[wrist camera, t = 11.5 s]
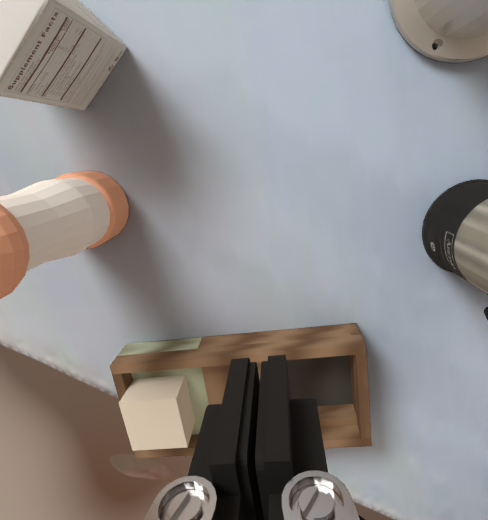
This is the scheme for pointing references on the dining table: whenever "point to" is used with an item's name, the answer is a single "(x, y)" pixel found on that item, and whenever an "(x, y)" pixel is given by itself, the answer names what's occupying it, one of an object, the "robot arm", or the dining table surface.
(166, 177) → the dining table surface
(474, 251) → the milk frother
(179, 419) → the cream block
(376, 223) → the dining table surface
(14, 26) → the supplement box
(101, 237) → the pepper shaker
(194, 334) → the dining table surface
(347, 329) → the box
